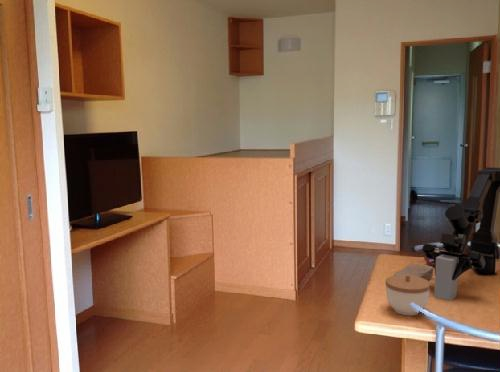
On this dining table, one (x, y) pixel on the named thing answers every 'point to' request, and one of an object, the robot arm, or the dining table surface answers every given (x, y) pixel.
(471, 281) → the dining table surface
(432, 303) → the dining table surface
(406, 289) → the lidded bowl
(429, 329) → the dining table surface
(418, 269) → the brick
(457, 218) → the robot arm
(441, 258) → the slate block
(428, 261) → the geometric puzzle
